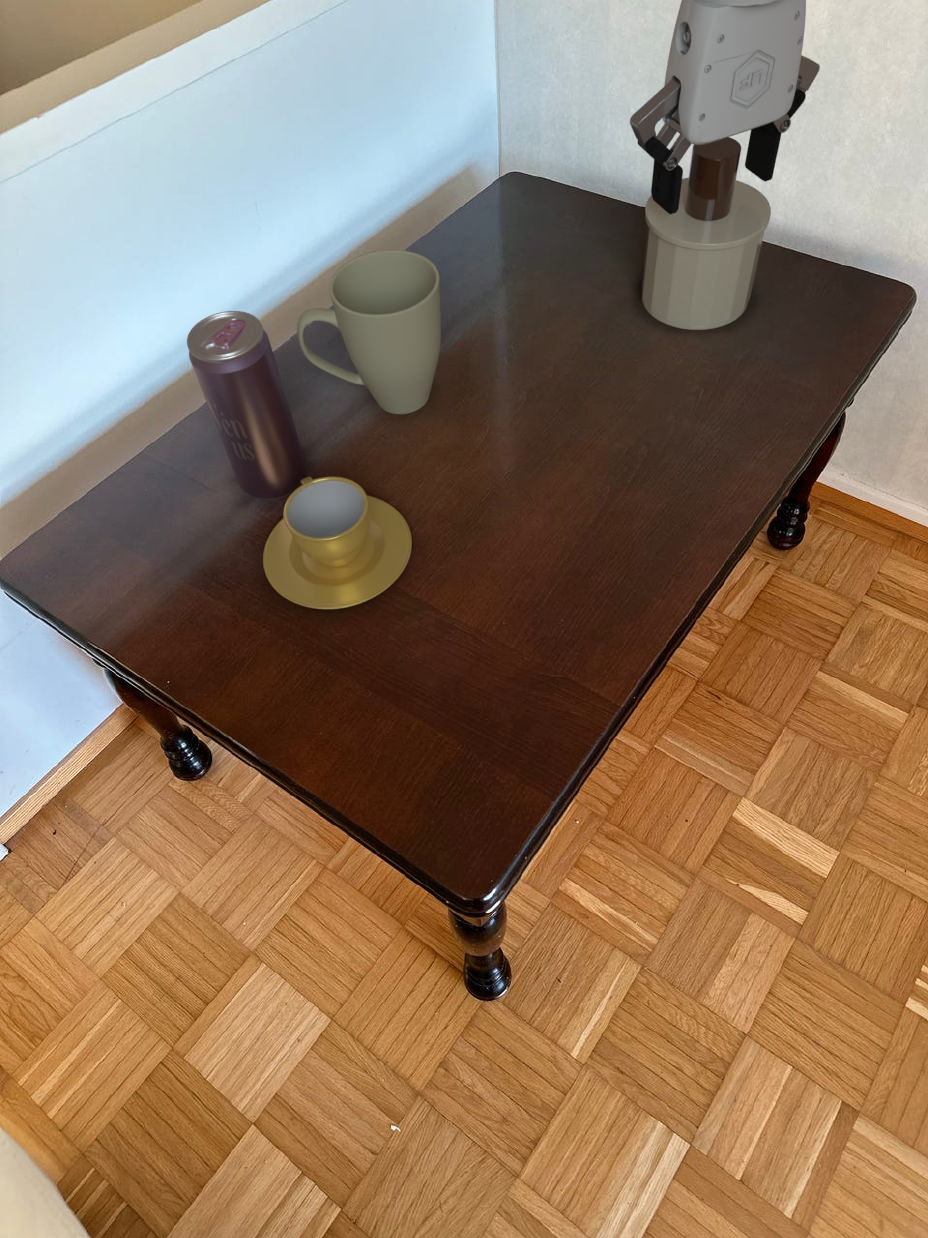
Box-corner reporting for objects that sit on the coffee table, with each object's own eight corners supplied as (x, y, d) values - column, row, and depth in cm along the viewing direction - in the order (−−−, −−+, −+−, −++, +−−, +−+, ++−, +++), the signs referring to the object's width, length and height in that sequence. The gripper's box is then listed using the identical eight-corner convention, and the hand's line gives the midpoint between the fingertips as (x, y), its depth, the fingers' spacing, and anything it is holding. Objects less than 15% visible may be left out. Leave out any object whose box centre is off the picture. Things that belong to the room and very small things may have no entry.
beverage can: (321, 464, 79) (280, 318, 67) (285, 512, 76) (236, 368, 64) (263, 447, 81) (213, 301, 68) (226, 493, 78) (167, 350, 65)
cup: (438, 571, 71) (431, 525, 67) (297, 636, 68) (280, 593, 64) (374, 477, 77) (364, 429, 73) (243, 533, 75) (224, 487, 70)
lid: (761, 186, 85) (776, 112, 79) (774, 255, 78) (792, 180, 73) (642, 189, 86) (649, 116, 80) (645, 257, 80) (653, 183, 74)
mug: (392, 348, 87) (373, 233, 77) (471, 388, 83) (461, 272, 73) (312, 412, 83) (281, 298, 73) (391, 457, 79) (369, 343, 69)
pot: (743, 265, 91) (759, 183, 84) (753, 329, 85) (771, 247, 78) (640, 266, 92) (648, 185, 85) (642, 330, 86) (651, 249, 79)
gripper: (672, 10, 62) (649, 240, 76) (878, -51, 65) (820, 180, 79) (616, -26, 66) (604, 199, 80) (812, -82, 69) (768, 143, 83)
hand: (711, 189), depth 80 cm, fingers open, 9 cm apart
